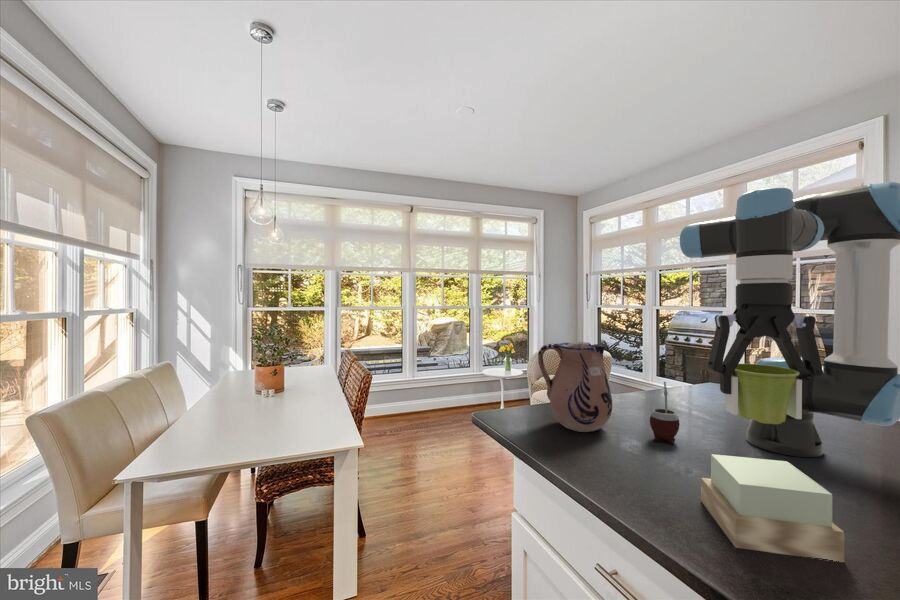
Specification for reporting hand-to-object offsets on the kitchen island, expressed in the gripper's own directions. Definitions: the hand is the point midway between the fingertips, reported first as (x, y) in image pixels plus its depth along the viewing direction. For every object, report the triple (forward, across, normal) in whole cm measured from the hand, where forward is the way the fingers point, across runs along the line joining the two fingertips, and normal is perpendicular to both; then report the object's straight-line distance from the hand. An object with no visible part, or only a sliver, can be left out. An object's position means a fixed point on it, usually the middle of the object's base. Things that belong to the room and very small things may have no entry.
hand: (762, 414), depth 66 cm
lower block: (+20, 0, 0) cm, 20 cm away
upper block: (+15, 0, 0) cm, 15 cm away
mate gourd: (+20, +5, -39) cm, 44 cm away
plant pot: (+1, 0, 0) cm, 1 cm away
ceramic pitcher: (+20, +28, -44) cm, 55 cm away
